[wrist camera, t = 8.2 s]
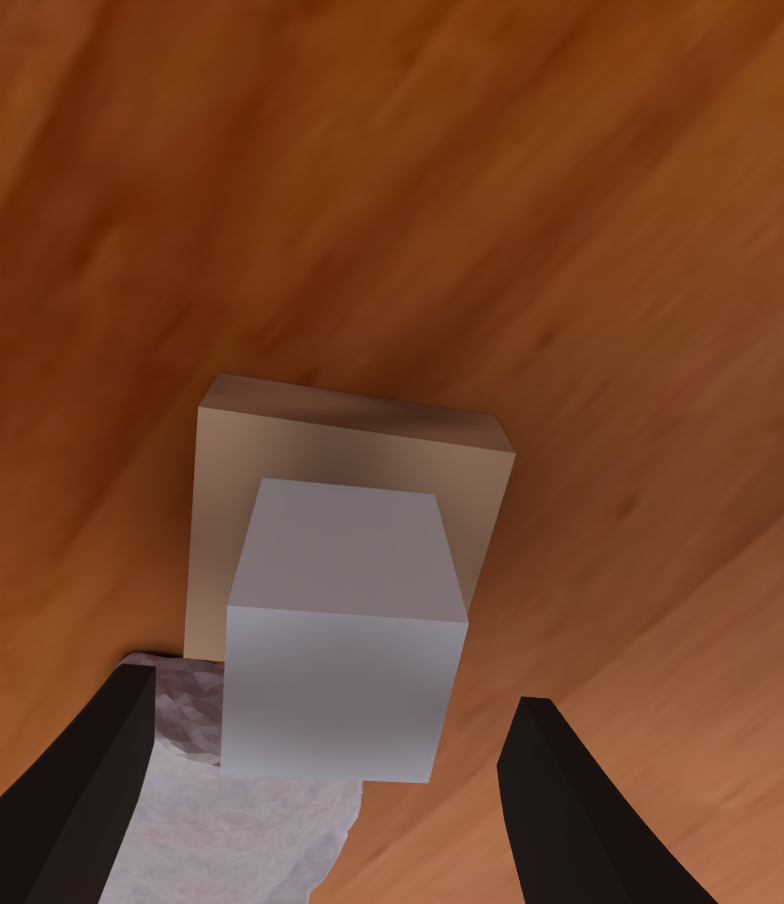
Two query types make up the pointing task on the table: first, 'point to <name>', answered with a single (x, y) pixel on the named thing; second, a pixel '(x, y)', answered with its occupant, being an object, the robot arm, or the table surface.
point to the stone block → (221, 811)
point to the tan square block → (330, 475)
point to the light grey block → (340, 635)
